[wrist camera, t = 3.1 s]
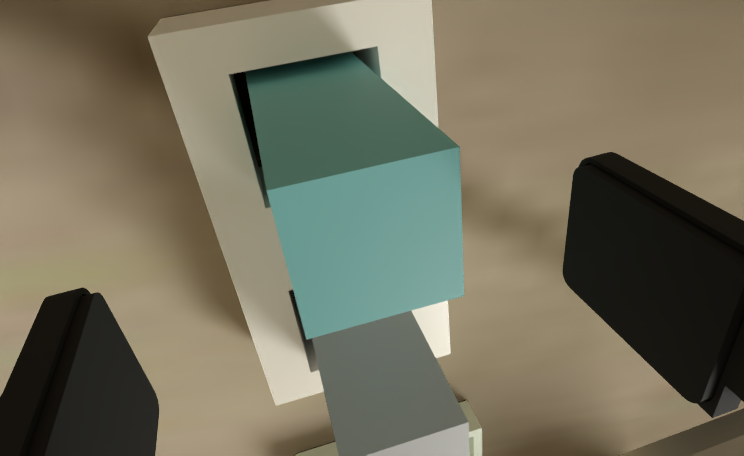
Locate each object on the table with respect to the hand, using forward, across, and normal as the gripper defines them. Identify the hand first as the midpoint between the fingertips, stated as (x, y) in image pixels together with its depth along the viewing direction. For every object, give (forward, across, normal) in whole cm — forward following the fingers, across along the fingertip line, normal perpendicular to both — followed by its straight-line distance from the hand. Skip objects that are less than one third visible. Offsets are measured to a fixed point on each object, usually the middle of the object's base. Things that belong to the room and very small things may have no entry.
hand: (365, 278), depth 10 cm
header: (+13, -1, +5) cm, 14 cm away
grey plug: (+13, -1, +9) cm, 16 cm away
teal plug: (+13, -1, 0) cm, 13 cm away
